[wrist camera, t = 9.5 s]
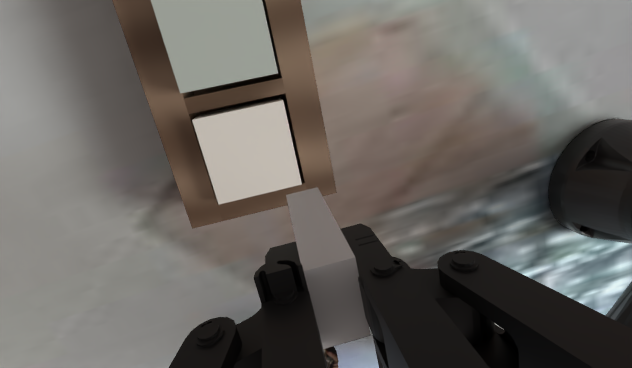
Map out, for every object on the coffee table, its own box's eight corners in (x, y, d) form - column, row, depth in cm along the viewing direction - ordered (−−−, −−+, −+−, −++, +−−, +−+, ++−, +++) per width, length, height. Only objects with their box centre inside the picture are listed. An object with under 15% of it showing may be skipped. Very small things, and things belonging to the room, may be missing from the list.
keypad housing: (322, 172, 37) (336, 192, 30) (204, 201, 36) (192, 228, 29) (256, -158, 28) (256, -232, 21) (93, -136, 26) (39, -208, 20)
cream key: (295, 169, 33) (301, 184, 28) (224, 186, 32) (218, 204, 27) (279, 97, 31) (283, 100, 26) (202, 113, 30) (192, 119, 25)
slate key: (274, 74, 29) (278, 73, 24) (192, 91, 28) (180, 93, 24) (253, -17, 27) (253, -38, 22) (164, -1, 26) (144, -19, 21)
